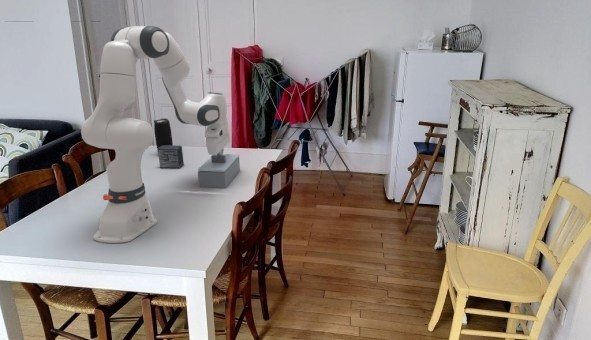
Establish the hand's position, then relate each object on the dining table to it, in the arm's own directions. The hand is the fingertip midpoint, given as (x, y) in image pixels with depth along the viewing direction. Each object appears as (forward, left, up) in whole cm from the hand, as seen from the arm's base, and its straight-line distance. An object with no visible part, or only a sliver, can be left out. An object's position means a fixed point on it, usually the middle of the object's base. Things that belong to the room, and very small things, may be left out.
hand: (220, 158), depth 187 cm
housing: (-2, 0, -10) cm, 10 cm away
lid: (-2, 0, -2) cm, 2 cm away
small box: (+14, +31, -10) cm, 36 cm away
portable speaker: (+32, +43, -10) cm, 55 cm away
